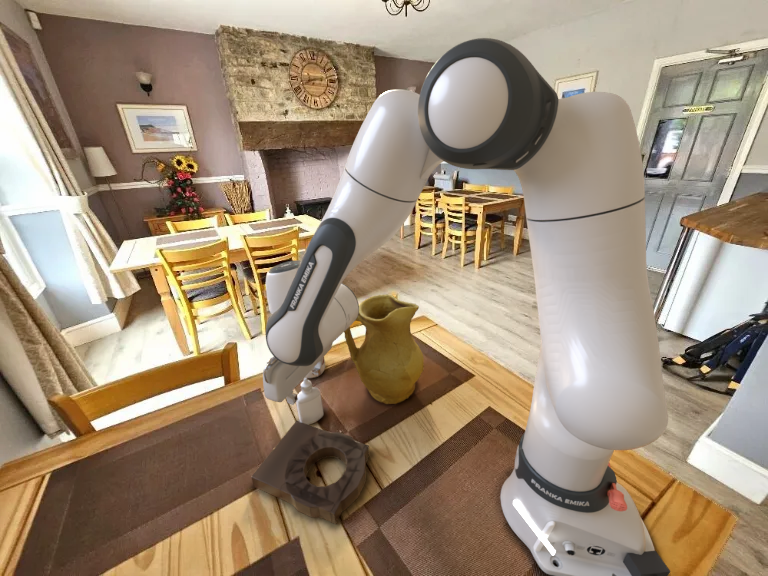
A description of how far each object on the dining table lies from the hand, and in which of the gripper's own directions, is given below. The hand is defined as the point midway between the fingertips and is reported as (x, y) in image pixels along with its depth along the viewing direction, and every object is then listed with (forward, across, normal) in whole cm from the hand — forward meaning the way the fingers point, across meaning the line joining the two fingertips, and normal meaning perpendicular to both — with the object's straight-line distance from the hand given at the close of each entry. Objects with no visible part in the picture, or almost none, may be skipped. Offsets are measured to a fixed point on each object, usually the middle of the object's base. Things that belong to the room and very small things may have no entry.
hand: (305, 387), depth 70 cm
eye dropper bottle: (+10, 0, 0) cm, 10 cm away
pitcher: (+10, +17, -13) cm, 24 cm away
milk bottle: (+10, +15, +10) cm, 20 cm away
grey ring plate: (+9, -11, -8) cm, 17 cm away
